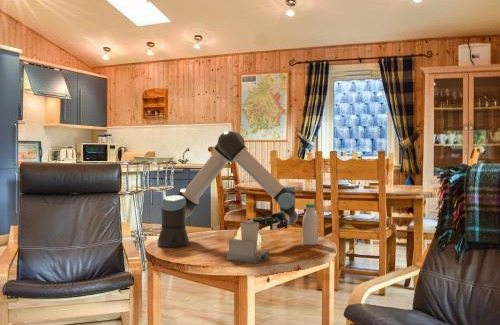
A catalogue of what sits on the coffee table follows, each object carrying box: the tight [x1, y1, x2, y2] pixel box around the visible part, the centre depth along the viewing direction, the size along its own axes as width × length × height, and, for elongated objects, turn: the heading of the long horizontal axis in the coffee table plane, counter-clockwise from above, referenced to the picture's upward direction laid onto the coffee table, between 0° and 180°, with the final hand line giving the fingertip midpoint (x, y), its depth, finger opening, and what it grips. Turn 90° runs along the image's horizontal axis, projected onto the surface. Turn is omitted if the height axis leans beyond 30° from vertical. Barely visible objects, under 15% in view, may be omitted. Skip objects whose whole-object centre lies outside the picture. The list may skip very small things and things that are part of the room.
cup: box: [239, 221, 260, 252], centre depth 207 cm, size 8×8×12 cm
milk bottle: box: [301, 203, 319, 246], centre depth 241 cm, size 8×8×20 cm
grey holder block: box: [226, 238, 270, 265], centre depth 206 cm, size 14×12×9 cm
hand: (259, 225), depth 214 cm, fingers open, 13 cm apart
